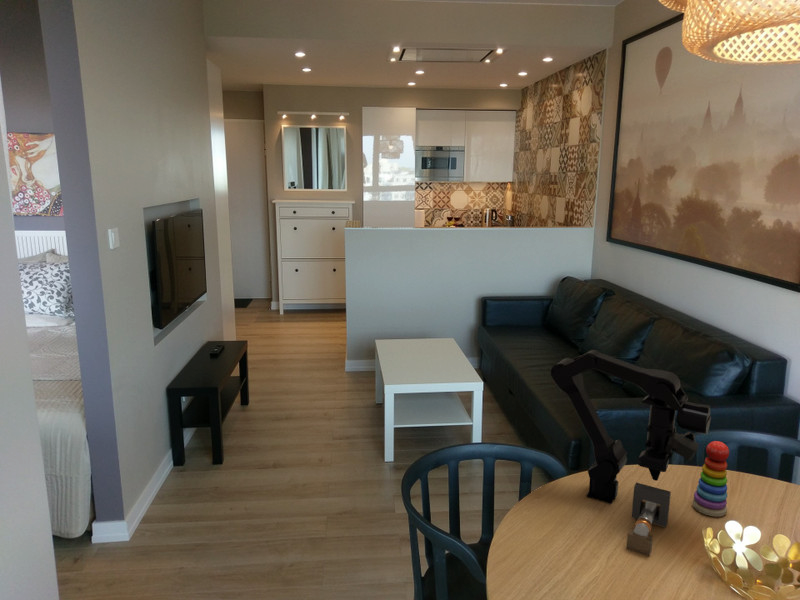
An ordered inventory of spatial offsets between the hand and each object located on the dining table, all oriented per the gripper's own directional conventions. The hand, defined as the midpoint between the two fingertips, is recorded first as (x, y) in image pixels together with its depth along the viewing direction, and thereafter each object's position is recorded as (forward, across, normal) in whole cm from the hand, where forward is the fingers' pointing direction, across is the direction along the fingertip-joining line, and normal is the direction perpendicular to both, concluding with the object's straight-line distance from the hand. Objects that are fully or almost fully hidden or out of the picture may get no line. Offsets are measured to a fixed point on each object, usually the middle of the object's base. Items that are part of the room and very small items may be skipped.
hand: (655, 479), depth 144 cm
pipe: (+9, -10, 0) cm, 13 cm away
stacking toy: (+9, +9, -12) cm, 18 cm away
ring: (+9, -5, 0) cm, 10 cm away
